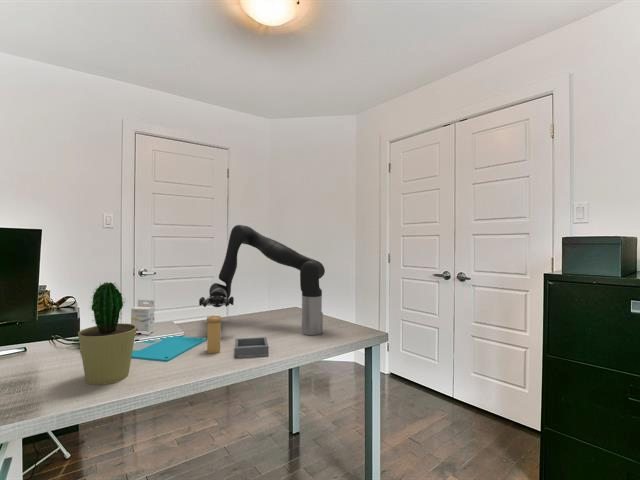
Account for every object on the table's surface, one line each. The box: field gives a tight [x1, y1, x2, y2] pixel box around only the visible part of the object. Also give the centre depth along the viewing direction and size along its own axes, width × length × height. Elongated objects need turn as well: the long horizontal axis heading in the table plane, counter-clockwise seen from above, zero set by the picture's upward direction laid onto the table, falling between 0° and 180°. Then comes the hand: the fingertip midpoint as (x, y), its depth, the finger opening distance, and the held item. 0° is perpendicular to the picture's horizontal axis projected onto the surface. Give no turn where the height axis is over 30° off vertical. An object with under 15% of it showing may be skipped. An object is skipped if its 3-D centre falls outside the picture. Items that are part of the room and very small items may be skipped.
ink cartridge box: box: [130, 299, 156, 332], centre depth 152 cm, size 9×5×15 cm, turn 84°
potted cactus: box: [77, 281, 137, 386], centre depth 104 cm, size 15×15×30 cm
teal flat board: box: [131, 335, 207, 362], centre depth 134 cm, size 26×28×1 cm
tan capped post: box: [206, 315, 222, 354], centre depth 130 cm, size 5×5×13 cm
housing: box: [234, 336, 270, 359], centre depth 129 cm, size 12×12×4 cm
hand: (215, 304), depth 141 cm, fingers open, 8 cm apart
